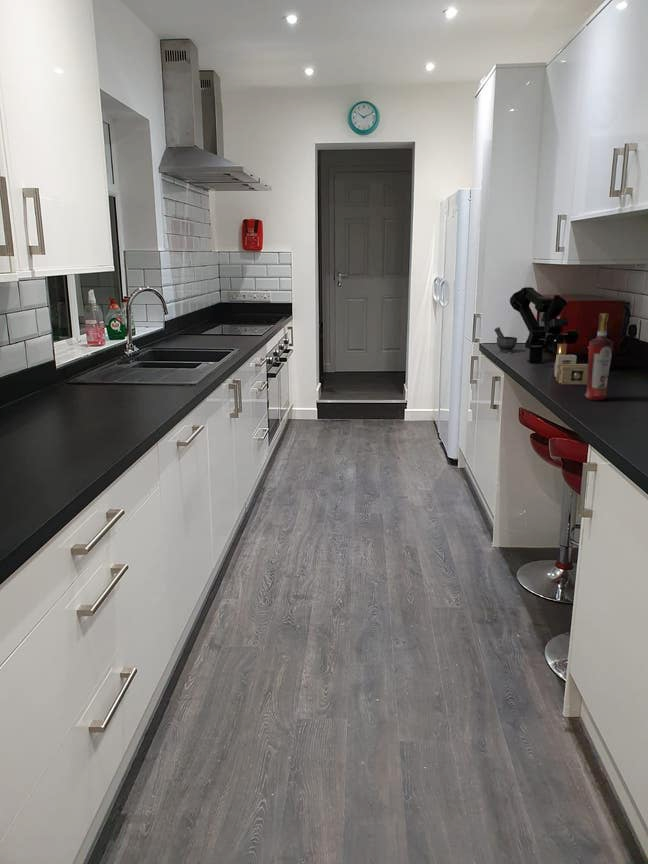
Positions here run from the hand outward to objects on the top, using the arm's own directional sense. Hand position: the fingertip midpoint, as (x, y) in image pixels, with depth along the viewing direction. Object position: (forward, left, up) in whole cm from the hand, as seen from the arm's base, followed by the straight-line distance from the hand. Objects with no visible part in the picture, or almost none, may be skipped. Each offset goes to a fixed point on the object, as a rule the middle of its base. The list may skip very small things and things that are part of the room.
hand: (556, 353), depth 270 cm
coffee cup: (-3, +18, -7) cm, 20 cm away
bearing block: (+24, 0, -7) cm, 25 cm away
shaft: (+16, 0, -7) cm, 17 cm away
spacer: (+12, 0, -7) cm, 14 cm away
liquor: (+53, -2, -7) cm, 54 cm away
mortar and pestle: (-53, -9, -7) cm, 55 cm away
